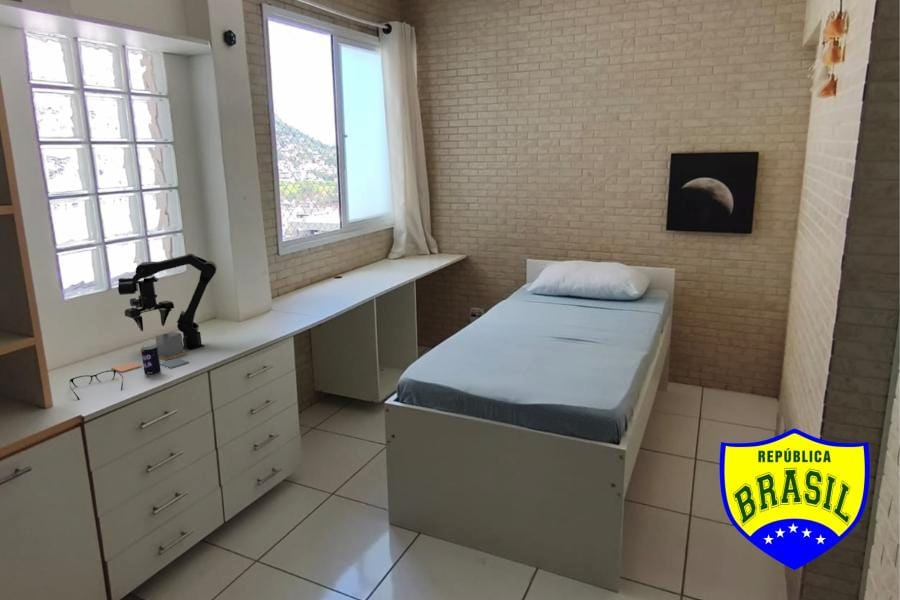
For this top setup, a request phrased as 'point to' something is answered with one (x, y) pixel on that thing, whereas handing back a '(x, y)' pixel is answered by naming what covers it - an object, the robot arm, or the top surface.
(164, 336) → the grey unit
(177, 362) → the slate pad
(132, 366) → the terracotta pad
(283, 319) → the top surface
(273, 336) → the top surface
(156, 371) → the beverage can
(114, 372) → the eyeglasses
